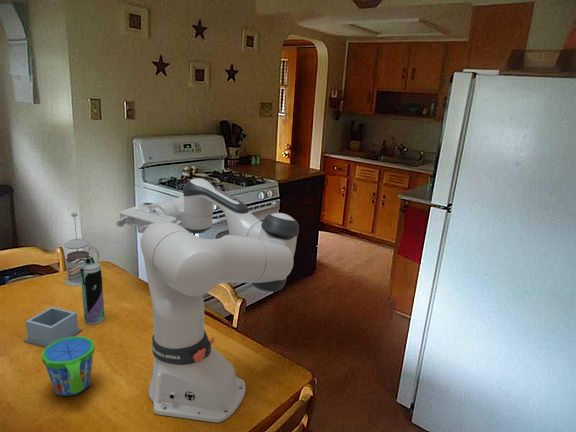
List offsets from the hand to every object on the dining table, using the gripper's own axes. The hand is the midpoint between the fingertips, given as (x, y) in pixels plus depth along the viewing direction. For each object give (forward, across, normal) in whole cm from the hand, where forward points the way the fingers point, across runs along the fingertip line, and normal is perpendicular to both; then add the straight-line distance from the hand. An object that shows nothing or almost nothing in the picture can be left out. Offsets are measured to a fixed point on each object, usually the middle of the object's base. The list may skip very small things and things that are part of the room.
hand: (128, 227), depth 128 cm
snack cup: (+35, -20, -25) cm, 48 cm away
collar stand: (+26, +2, -25) cm, 36 cm away
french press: (-1, +27, -26) cm, 38 cm away
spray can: (+14, 0, -26) cm, 29 cm away
